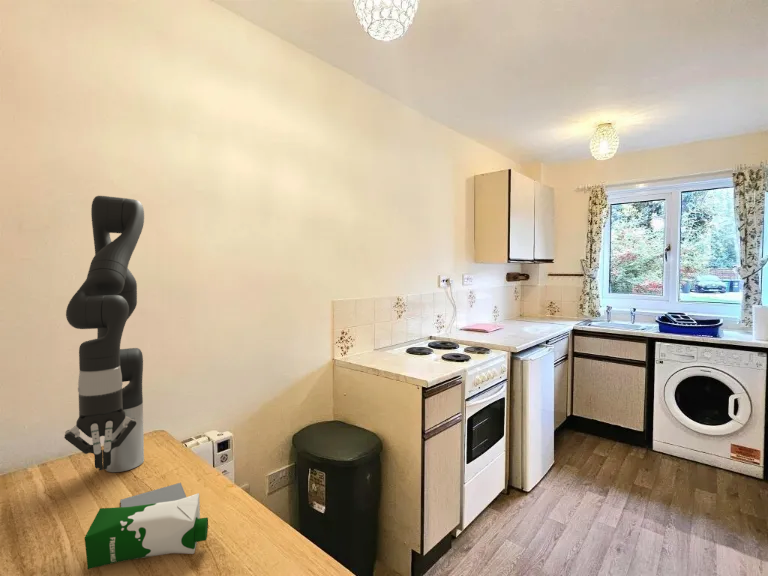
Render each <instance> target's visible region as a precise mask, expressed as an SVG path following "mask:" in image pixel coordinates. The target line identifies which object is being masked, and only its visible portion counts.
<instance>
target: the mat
mask: <svg viewBox="0 0 768 576" xmlns="http://www.w3.org/2000/svg"><path fill="white" fill-rule="evenodd" d="M186 497H187V495H186V493H185V490H184V487H183V485H182V482H178V483H175V484H171V485H167V486H163V487H160V488H157V489H153V490H150V491H147V492H143V493H139V494H136V495H132V496H129V497H125V498H122V499H119V500H120V502H119V503H121V504H120V507H132V506H139V505H147V504H154V503H162V502H169V501H176V500H180V499H183V498H186Z"/></svg>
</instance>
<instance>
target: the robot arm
mask: <svg viewBox="0 0 768 576" xmlns="http://www.w3.org/2000/svg"><path fill="white" fill-rule="evenodd" d="M90 212H91V213H90V214H91V225H92V234H93V235H92V236H93V244H94V254H95V255H94V257H92V258H91V259H92V260H91V262H90V265H89V268H88V272H87V276H86V279H85V280H84V281H83V283H82V284H81V286H80V287H79V288H78V290H77V291H76V292H75V293H74V294H73V296H72V297H71V299H70V300H69V301H68V304H67V306H66V310H65V317H66V320H67V323H68V324H69V325H70V326H71V327H73V328H75V329H78V330H90V329H91V330H92V329H96V330H97V338H94V339H90V340H89V339H88V340H86V341H83V342H82V343H81V344H80V345H79V349H78V361H79V362H78V364H79V369H78V370H79V374H78V383H77V385H78V387H77V393H78V418H77V420H76V424H75V425H74V426H73V427H71V429H67V430H66V431H65V432H64V437H63V438H64V439H65V440H66V441H67V442H69V443H70V444H71V445H73V446H74V447H75V448H76V449H78V450H79V451H81V452H82V453H83V454H85V455H87V454H93V456H94V468H95V469H98V471H103V470H105V471H106V472H108V473H120V472H121V473H122V472H126V471H129V470H133V469H135V468H137V467H140V465H142V464H143V463H144V461H145V453H144V451H145V449H144V446H145V444H144V443H145V442H144V439H145V438H144V398H143V376H144V375H143V374H144V373H143V371H144V356H143V355H144V354H143V352H142V350H141V349H140V348H138V347H130V348H121V342H122V336H123V333H124V329H125V326H126V323H127V321H128V320H129V318H130V317H131V316H132V314H133V313H134V311H135V309H136V308H137V303H138V283H137V280H136V278H135V276H134V275H133V273H132V272H131V271H130V269H129V264H130V260H131V258H132V256H133V253H134V250H135V248H136V247H137V244H138V242H139V239H140V236H141V235H142V232H143V229H144V224H145V210H144V206H143V204H142V202H141V201H139V200H138V199H134V198H133V199H132V198H125V197H116V196H107V195H97V196H95V197H93V200H92V202H91V211H90ZM111 234H119V235H118V236H117V237H116V238H115V239H113V240H112V239H111ZM124 382H125V383H126V382H128V384H127V385H126V386H124V385H123V383H124ZM123 386H124V387H123ZM80 431H81V432H82V433H83V434H84V435H85V436H87V437H88V438H90V439H92V440H91V441H92V444H90V443H89V442H88V441H86V440H85V439H83V438H82V437H81V433H80ZM101 437H103V449H102V445H101Z"/></svg>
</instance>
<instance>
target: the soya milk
mask: <svg viewBox="0 0 768 576" xmlns="http://www.w3.org/2000/svg"><path fill="white" fill-rule="evenodd" d="M200 507H201V506H200V493H199V492H198V493H195V494H192V495H189V496H186V498H183V499H180V500H176V501H169V502H162V503H154V504H147V505H139V506H132V507H121V506H119V507H102V508H101V507H100V508H99V510H98V511H97V513H96V515H95V516H94V519H93V521H92V522H91V524H90V526H89V528H88V530H87V532H86V534H85V536H84V544H85V554H86V563H87V564H86V566H87V570H90V569H95V568H99V567H104V566H108V565H112V564H117V563H121V562H126V561H132V560H139V559H143V558H144V559H145V558H150V557H155V556H157V557H158V556H162V555H168V554H185V555H186V554H189V555H193V554H195V552H196V547H197V543H199V542H203V541H204V542H205V541H207V538H208V531H209V530H208V529H209V517H201V512H200V511H201V508H200Z"/></svg>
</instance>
